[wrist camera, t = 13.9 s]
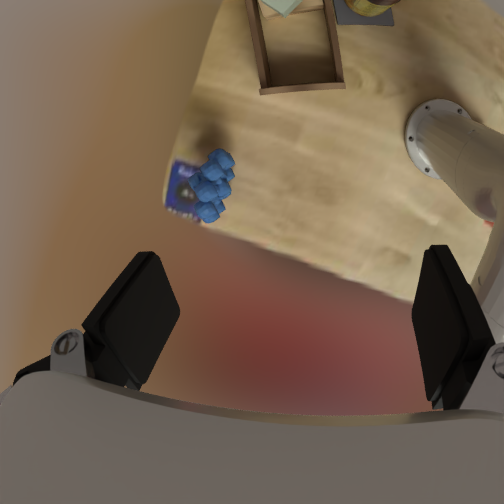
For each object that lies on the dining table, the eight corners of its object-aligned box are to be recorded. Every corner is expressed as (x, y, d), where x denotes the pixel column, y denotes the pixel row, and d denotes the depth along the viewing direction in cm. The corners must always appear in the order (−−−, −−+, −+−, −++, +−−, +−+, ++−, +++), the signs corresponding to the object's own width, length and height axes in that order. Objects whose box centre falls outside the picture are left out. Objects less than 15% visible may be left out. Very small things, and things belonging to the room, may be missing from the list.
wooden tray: (323, -20, 27) (324, -33, 22) (341, 86, 36) (345, 88, 31) (248, -12, 29) (238, -23, 25) (267, 92, 38) (260, 95, 34)
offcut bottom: (316, -11, 28) (315, -18, 25) (323, 9, 30) (323, 4, 27) (260, 0, 31) (256, -5, 28) (267, 20, 32) (263, 16, 30)
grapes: (206, 132, 44) (173, 153, 34) (248, 142, 43) (226, 165, 34) (197, 197, 51) (167, 232, 41) (235, 207, 50) (213, 246, 41)
